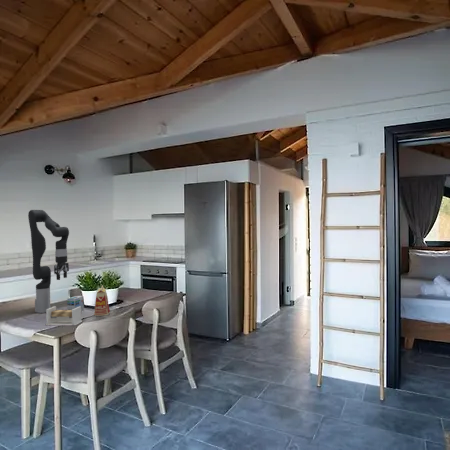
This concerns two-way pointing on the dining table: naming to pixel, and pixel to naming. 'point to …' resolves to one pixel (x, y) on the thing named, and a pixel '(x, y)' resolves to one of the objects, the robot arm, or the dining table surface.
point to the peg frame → (63, 320)
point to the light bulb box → (75, 302)
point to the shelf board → (62, 313)
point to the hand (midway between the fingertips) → (61, 278)
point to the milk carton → (101, 303)
